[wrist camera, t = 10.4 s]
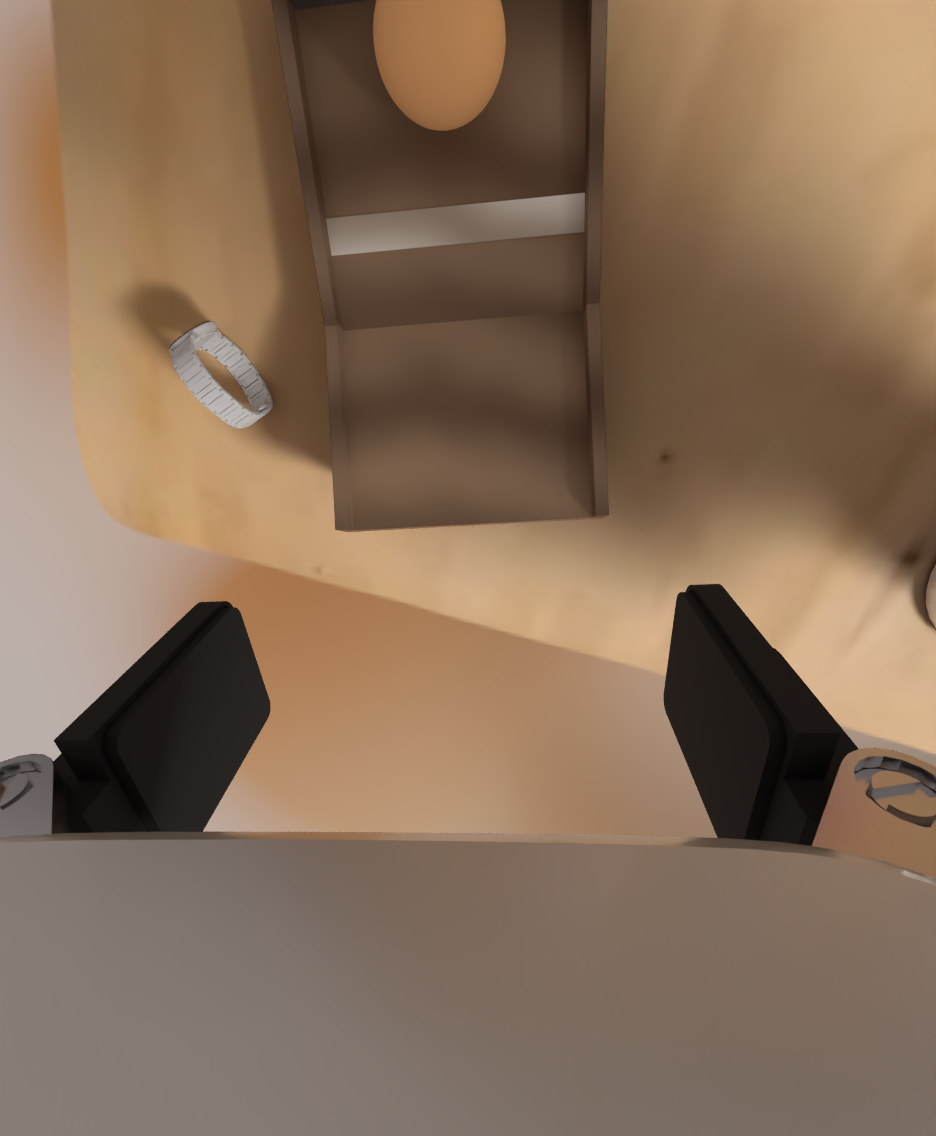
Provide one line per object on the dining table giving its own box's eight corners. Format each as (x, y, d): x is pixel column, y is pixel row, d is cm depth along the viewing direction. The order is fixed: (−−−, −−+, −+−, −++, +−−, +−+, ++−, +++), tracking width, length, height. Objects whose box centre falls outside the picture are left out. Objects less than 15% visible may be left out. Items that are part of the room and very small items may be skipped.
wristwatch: (233, 317, 27) (181, 318, 22) (292, 399, 29) (256, 415, 24) (195, 347, 28) (139, 354, 23) (256, 425, 30) (214, 445, 25)
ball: (461, 43, 22) (447, -132, 17) (529, 117, 21) (536, -45, 16) (368, 107, 22) (327, -50, 17) (433, 184, 21) (410, 43, 16)
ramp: (582, 484, 30) (608, 532, 24) (370, 496, 31) (338, 546, 25) (599, -51, 20) (653, -228, 13) (283, -9, 21) (189, -156, 14)
